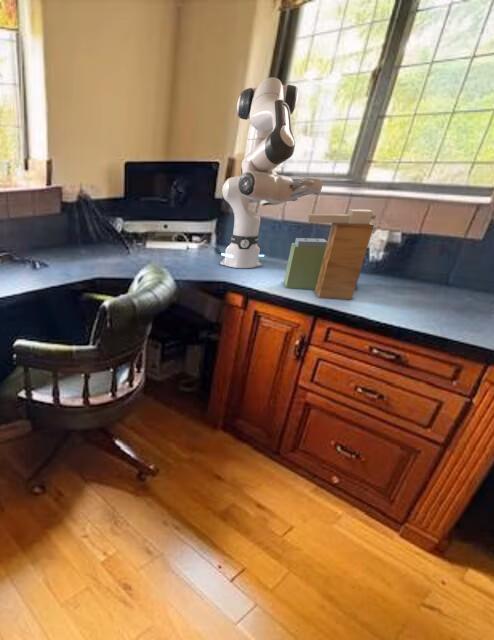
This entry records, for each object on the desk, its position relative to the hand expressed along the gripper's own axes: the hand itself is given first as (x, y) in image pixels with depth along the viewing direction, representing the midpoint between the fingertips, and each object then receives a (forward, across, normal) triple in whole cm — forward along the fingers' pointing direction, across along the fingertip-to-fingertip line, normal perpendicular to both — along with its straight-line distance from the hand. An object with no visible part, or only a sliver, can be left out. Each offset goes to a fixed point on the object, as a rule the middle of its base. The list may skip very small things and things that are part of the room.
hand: (307, 194), depth 154 cm
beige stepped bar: (+5, -11, +12) cm, 17 cm away
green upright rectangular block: (+11, +9, +32) cm, 35 cm away
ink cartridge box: (+28, +1, +32) cm, 42 cm away
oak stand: (+12, -5, +36) cm, 38 cm away
